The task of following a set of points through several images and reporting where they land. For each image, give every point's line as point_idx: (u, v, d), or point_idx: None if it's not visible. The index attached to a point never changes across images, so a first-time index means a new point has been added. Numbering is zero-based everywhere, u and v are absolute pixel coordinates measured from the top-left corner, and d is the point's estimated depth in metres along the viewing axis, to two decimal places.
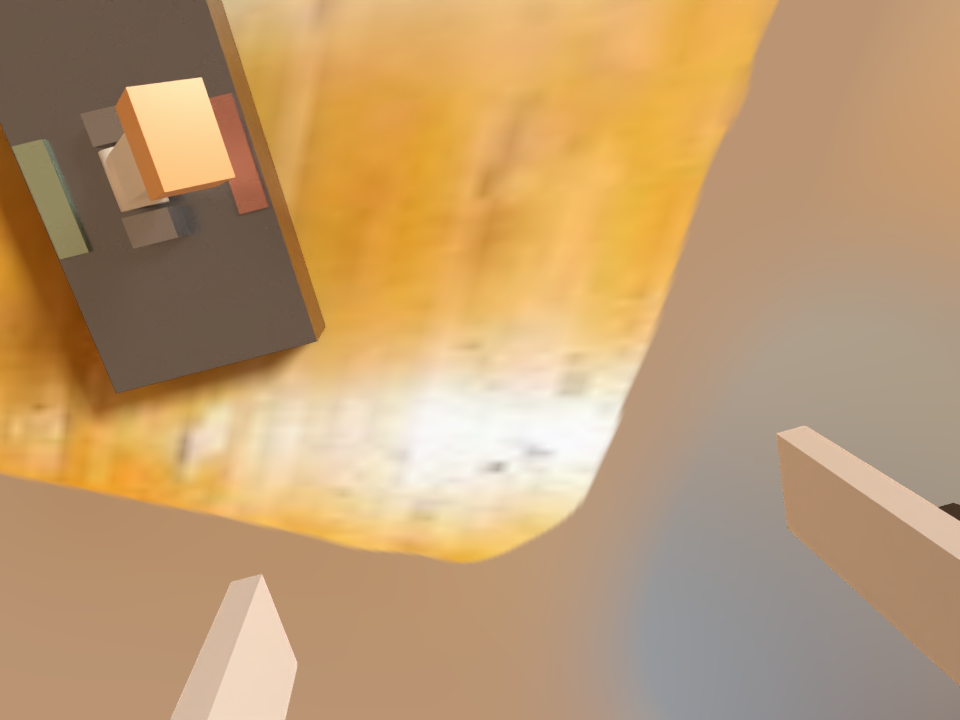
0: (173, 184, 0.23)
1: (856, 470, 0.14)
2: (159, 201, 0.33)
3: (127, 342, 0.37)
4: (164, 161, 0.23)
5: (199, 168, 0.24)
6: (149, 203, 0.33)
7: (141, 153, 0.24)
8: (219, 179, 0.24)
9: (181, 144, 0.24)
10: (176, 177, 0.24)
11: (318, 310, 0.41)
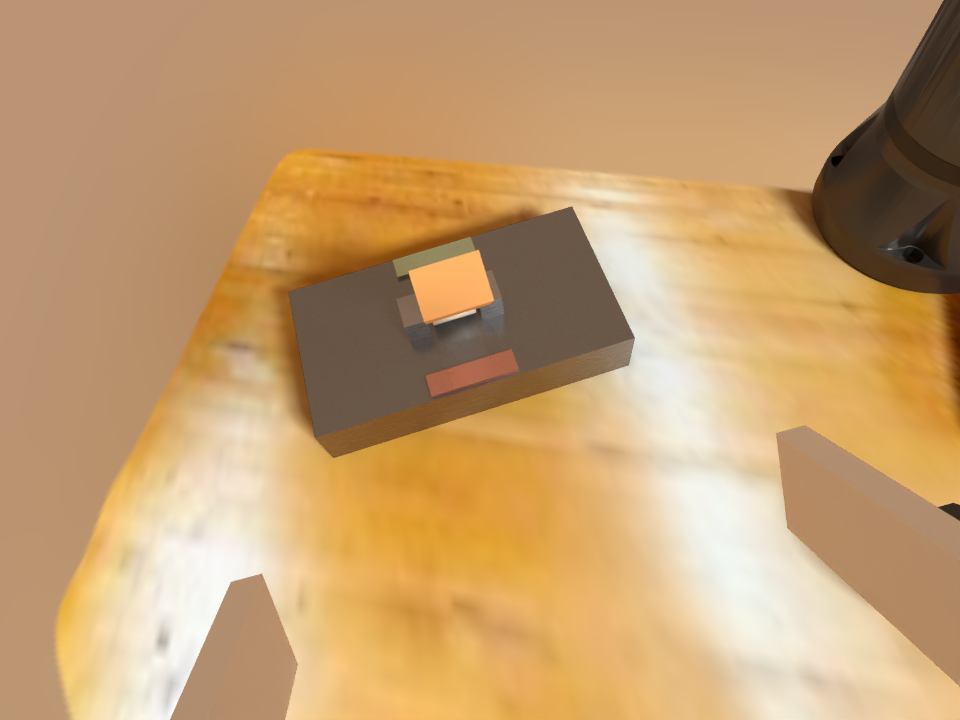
0: (414, 277, 0.32)
1: (856, 470, 0.14)
2: None
3: (327, 299, 0.47)
4: (430, 272, 0.32)
5: (427, 296, 0.32)
6: None
7: None
8: (421, 310, 0.32)
9: (444, 284, 0.32)
10: (419, 279, 0.32)
11: (347, 449, 0.45)
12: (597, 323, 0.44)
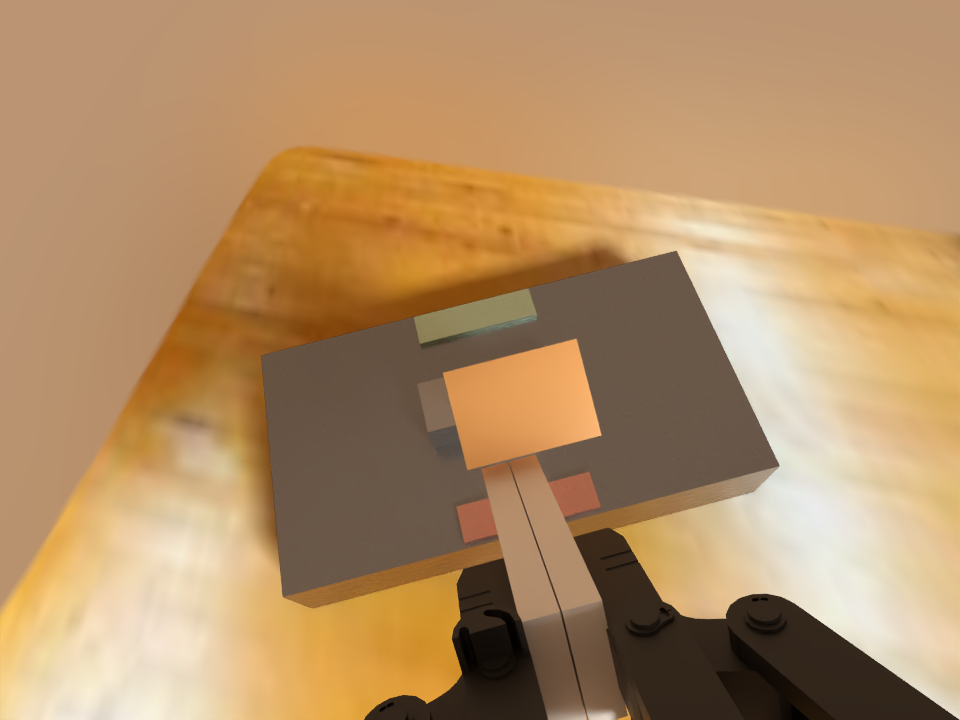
0: (454, 384, 0.17)
1: (540, 498, 0.16)
2: None
3: (316, 371, 0.32)
4: (484, 376, 0.17)
5: (477, 421, 0.17)
6: None
7: None
8: (463, 447, 0.17)
9: (509, 400, 0.17)
10: (463, 389, 0.17)
11: (334, 600, 0.31)
12: (720, 436, 0.29)
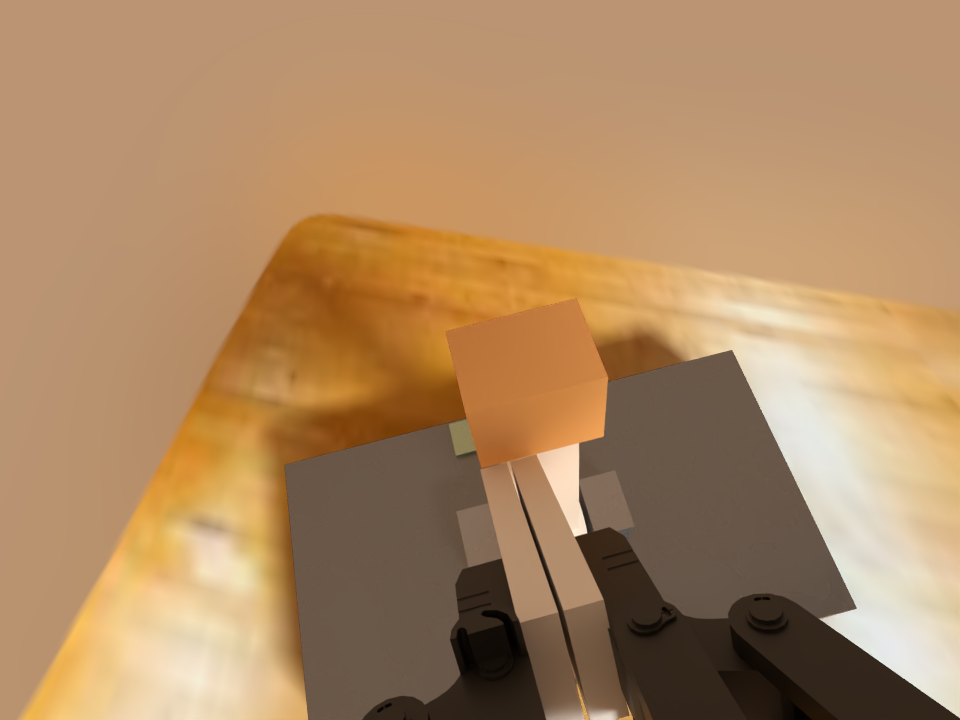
0: (456, 340, 0.17)
1: (541, 497, 0.16)
2: None
3: (344, 484, 0.30)
4: (485, 332, 0.17)
5: (476, 369, 0.17)
6: None
7: None
8: (462, 393, 0.16)
9: (509, 350, 0.17)
10: (464, 343, 0.17)
11: None
12: (789, 571, 0.26)
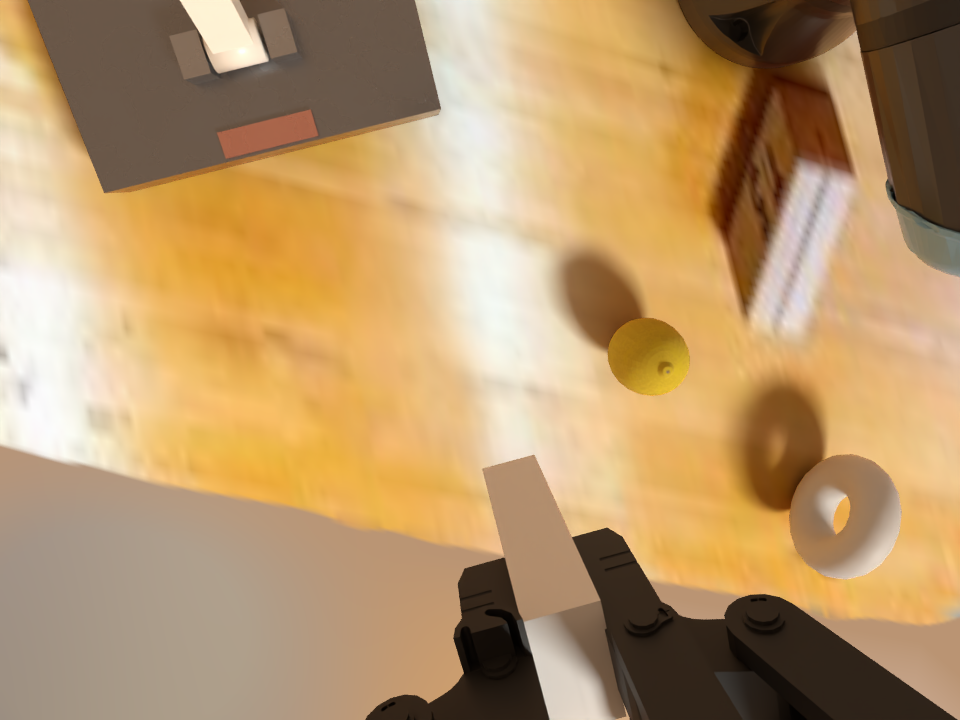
0: None
1: (538, 498, 0.16)
2: (205, 47, 0.37)
3: (79, 6, 0.38)
4: None
5: None
6: (203, 37, 0.37)
7: None
8: None
9: None
10: None
11: (144, 187, 0.45)
12: (404, 84, 0.41)
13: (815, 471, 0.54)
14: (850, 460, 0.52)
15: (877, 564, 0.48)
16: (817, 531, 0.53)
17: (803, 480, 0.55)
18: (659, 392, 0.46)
